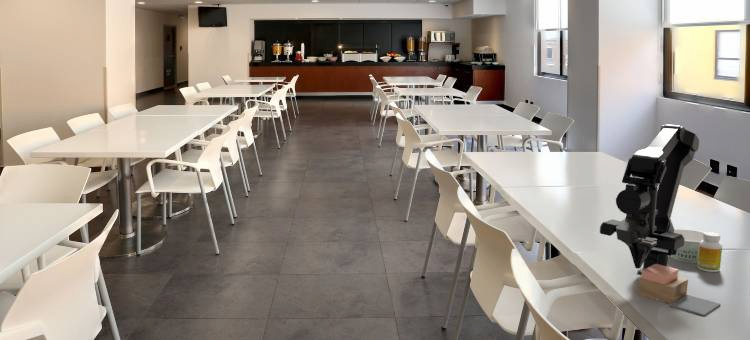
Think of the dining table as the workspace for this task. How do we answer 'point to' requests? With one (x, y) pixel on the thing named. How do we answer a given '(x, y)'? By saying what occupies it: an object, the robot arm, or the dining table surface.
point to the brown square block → (664, 289)
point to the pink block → (659, 273)
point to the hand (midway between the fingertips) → (637, 268)
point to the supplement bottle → (710, 252)
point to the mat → (695, 305)
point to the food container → (689, 245)
